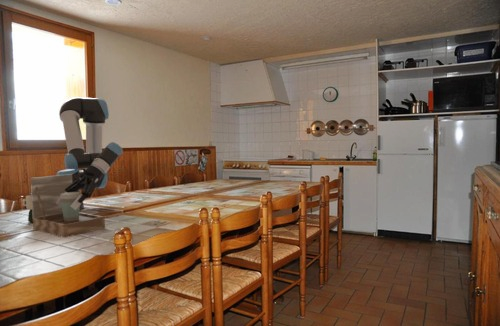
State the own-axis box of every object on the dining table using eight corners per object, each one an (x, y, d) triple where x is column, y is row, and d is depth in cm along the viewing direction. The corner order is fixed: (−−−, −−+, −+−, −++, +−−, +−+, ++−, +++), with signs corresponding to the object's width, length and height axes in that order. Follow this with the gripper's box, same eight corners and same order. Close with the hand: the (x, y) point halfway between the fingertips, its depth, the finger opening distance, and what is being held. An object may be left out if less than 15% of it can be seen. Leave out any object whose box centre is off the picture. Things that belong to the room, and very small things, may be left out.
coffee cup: (86, 219, 151) (85, 192, 150) (67, 223, 143) (65, 195, 143) (75, 217, 155) (74, 191, 155) (56, 220, 148) (55, 193, 147)
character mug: (50, 219, 169) (49, 193, 169) (44, 222, 162) (43, 196, 162) (27, 220, 168) (25, 194, 167) (20, 224, 161) (18, 197, 160)
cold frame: (33, 229, 150) (30, 177, 149) (72, 221, 165) (70, 174, 164) (64, 237, 136) (61, 180, 135) (105, 227, 151) (102, 176, 150)
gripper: (78, 163, 163) (46, 198, 152) (105, 165, 148) (72, 204, 137) (89, 173, 168) (59, 208, 157) (117, 176, 153) (86, 214, 142)
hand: (65, 206), depth 147 cm, fingers open, 13 cm apart
